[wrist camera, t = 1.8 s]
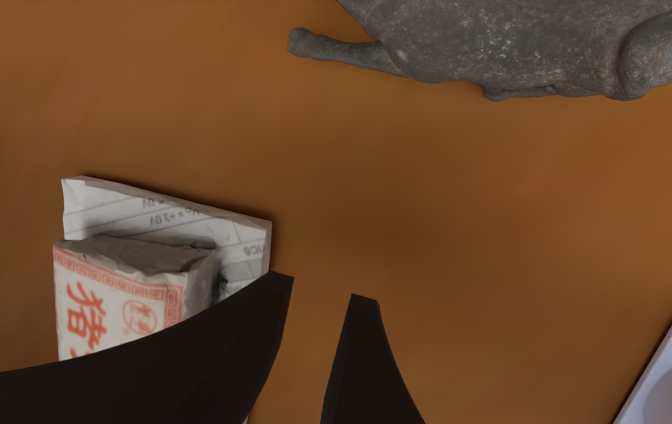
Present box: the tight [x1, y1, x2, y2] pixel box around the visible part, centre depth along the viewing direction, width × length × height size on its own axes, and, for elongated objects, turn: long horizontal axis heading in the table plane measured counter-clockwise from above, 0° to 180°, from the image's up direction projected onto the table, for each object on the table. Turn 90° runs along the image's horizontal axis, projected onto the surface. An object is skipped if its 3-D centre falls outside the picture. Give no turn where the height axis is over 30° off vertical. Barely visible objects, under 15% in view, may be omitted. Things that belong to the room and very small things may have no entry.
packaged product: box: [52, 175, 272, 424], centre depth 22 cm, size 18×5×10 cm
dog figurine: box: [287, 0, 672, 101], centre depth 13 cm, size 12×6×7 cm, turn 80°
